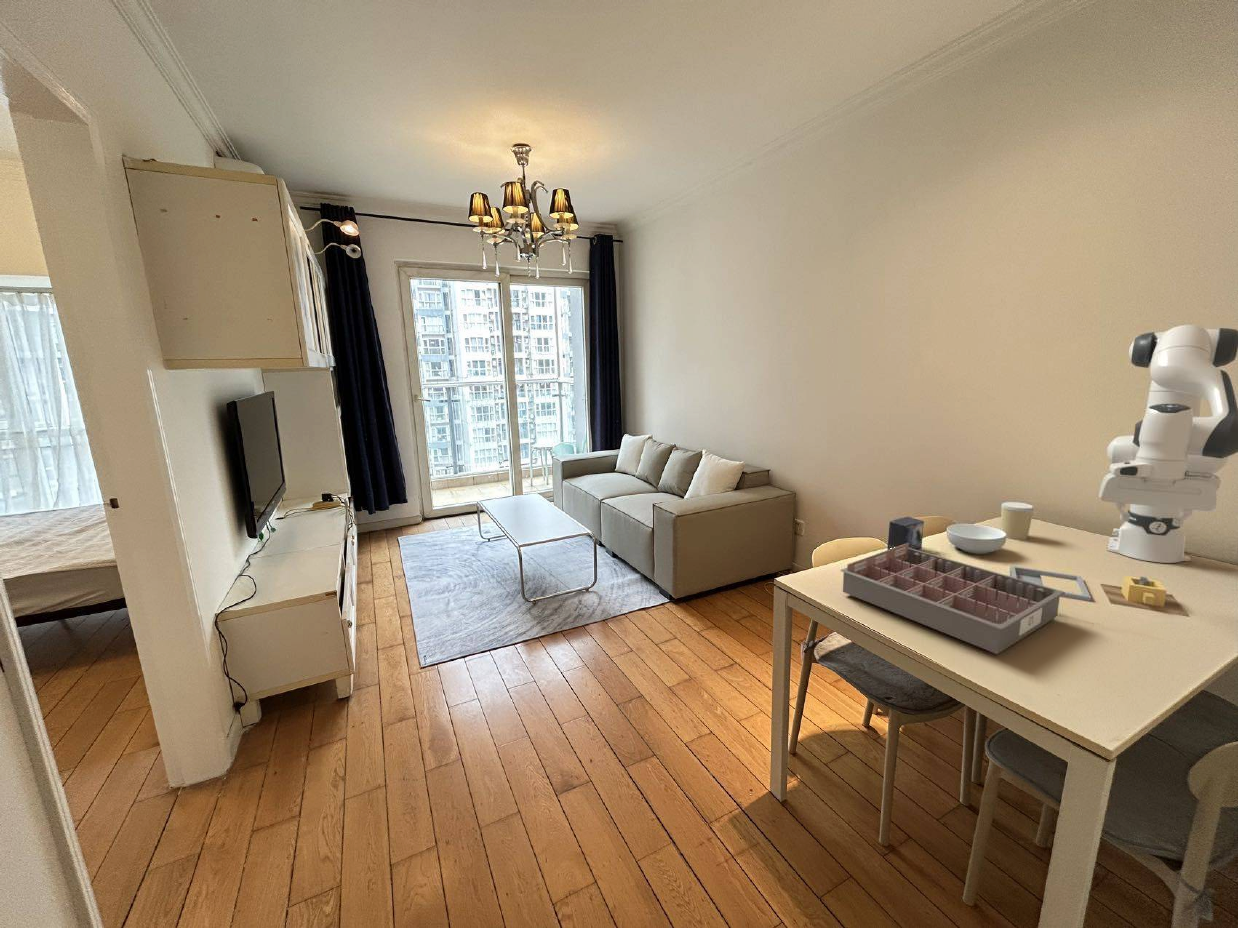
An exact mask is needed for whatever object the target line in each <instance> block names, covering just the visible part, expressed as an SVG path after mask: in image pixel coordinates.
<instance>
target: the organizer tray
mask: <svg viewBox="0 0 1238 928" xmlns="http://www.w3.org/2000/svg"><path fill="white" fill-rule="evenodd" d="M839 571H840V572H843V581H842V593H845V594H848V595H850V596H852V597H855V598H857V599H859V600H862V601H865V602H868V603H869V604H873V605H875V606H876V607H878V608H879V607H880V608H882V609H885V610H887V611H889V612H892V613H894V614H896V615H898V616H902V617H904V618H907V619H909V620H912V621H914V622H917V623H919V624H921V625H924V626H927V627H929V628H931V629H935V630H937V631H939V632H942V633H944V634H946V635H949V636H951V637H954V638H956V639H959V640H960V641H964V642H966V643H969V644H971V645H974V646H976V647H978V648H981V649H984V650H986V651H988V652H991V653H993V654H995V655H998V654H1000V653H1001V652H1003V651H1005V650H1006V649H1008V648H1009V647H1011V646H1012V645H1014V644H1016V643H1017V642H1019V641H1021V640H1022V639H1023V638H1025V637H1027V636H1028V635H1030V634H1032V633H1033V632H1035V631H1036V630H1037V629H1039V628H1041V627H1043V626H1044V625H1045V624H1047V623H1049V622H1050V621H1052V620H1053V619H1055V618H1057V617H1058V612H1059V606H1060V605H1059V604H1060V598H1061V597H1062V596H1061V595H1063V594H1065V592H1066V591H1064V590H1059V589H1056V588H1052V587H1048V586H1045V585H1043V586H1042V585H1039V584H1035V583H1032V582H1028V581H1024V580H1021V579H1017V578H1014V577H1010V575H1006V574H1004V573H999V572H997V571H991V570H989V569H985V568H981V567H979V566H975V565H971V564H967V563H964V562H961V561H957V560H953V559H950V558H946V557H943V556H939V555H937V554H932V553H929V552H925V551H922V550H919V549H918V550H915V549H911V548H909V543H907V544H904V545H901V546H898V547H895V548H892V549H887V550H884V551H881V552H879V553H875V554H873V555H870V556H867V557H864V558H862V559H858V560H855V561H854V562H849V563H847V566H846V567H845V568H842V569H840V570H839Z"/></svg>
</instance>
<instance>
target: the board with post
mask: <svg viewBox="0 0 1238 928" xmlns="http://www.w3.org/2000/svg"><path fill="white" fill-rule="evenodd" d="M1139 578H1140V580H1141V581H1139V585H1143V586H1150V582H1149V581H1148V580H1149V579H1148V578H1147V577H1146V576H1140V577H1139ZM1099 585H1100V586H1101V589H1102V590H1103V592H1104V594H1105V596H1106V597H1107V599H1108V601H1109V602H1110V604H1111V605H1112V604H1113V605H1118V606H1122V607H1123V606H1124V607H1129V608H1135V609H1141V610H1148V611H1154V612H1158V613H1159V612H1160V613H1164V614H1169V615H1177V616H1183V617H1188V618H1190V617H1191V616H1190V614H1189V613H1188V612H1187V611H1186V610H1185V608H1184V607H1183V606H1182V605H1181V603H1179V601H1178V600H1177V599H1176V597H1175V596H1174V595H1173V594H1169V593H1166V597H1165V603H1164V607H1161V606H1155V605H1148V604H1142V603H1136V602H1130V601H1127V600H1126V598H1125V596H1124V595H1123V593H1122V592H1121V591H1122V586H1117V585H1109V584H1106V583H1105V584H1104V583H1100V584H1099Z"/></svg>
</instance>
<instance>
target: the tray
mask: <svg viewBox="0 0 1238 928" xmlns="http://www.w3.org/2000/svg"><path fill="white" fill-rule="evenodd" d="M1041 575H1043V576H1047V577H1052V578H1053V577H1054V578H1061V579H1066V580H1067V579H1068V580H1073V581H1076V583H1077V585H1078V587H1079V589H1080V591H1081V594H1078V593H1074V592H1067V591H1064V592H1065V594H1063V595H1061V596H1060V597H1063V598H1068V599H1074V600H1075V599H1076V600H1080V601H1085V602H1091V601H1092V597H1091V595H1090V592H1089V590H1088V588H1087V586H1086V583H1085V582H1084V580H1083V577H1082V576H1081V575H1075V574H1068V573H1064V572H1063V573H1062V572H1055V571H1049V570H1044V569H1043V570H1042V569H1035V568H1030V567H1023V566H1017V565H1010V567H1009V576H1010V577H1014V578H1017V579H1021V580H1024V581H1028V582H1032V583H1035V584H1039V585H1042V586H1044V583H1043V580H1042V576H1041Z"/></svg>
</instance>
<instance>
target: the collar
mask: <svg viewBox="0 0 1238 928" xmlns="http://www.w3.org/2000/svg"><path fill="white" fill-rule="evenodd" d="M1122 579H1123V580H1122V585H1121V587H1122V591H1121V592H1122V593H1123V595H1124V596H1125V598H1126V600H1127V601H1130V602H1136V603H1142V604H1148V605H1155V606H1161V607H1164V603H1165V597H1166V594H1167V589H1166V588H1165V586H1164V585H1163V584H1162V583H1161V581H1160V580H1154V579H1148V581H1149V582H1150V586H1143V585H1139V581H1141V580H1140V577H1134V576H1126V575H1123V578H1122Z"/></svg>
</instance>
